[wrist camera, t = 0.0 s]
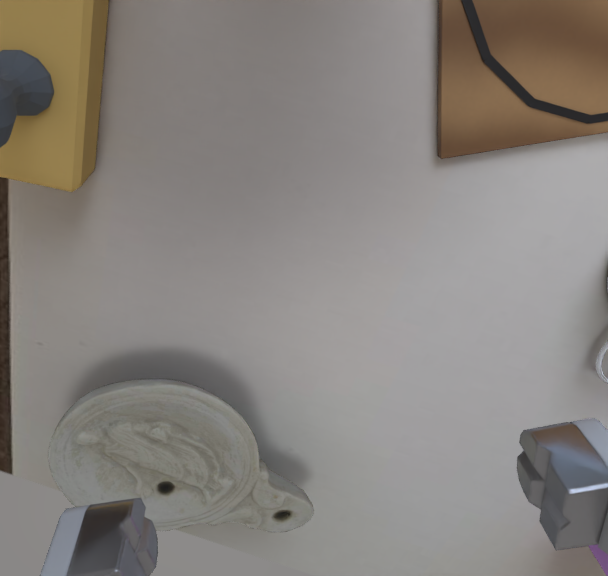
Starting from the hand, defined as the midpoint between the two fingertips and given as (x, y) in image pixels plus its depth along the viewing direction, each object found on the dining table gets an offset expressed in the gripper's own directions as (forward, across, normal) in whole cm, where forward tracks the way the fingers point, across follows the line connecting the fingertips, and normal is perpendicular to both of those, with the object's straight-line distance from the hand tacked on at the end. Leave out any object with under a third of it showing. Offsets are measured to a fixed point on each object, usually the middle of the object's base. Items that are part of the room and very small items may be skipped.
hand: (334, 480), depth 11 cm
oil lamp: (+23, +9, +21) cm, 33 cm away
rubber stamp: (+23, +11, -7) cm, 27 cm away
